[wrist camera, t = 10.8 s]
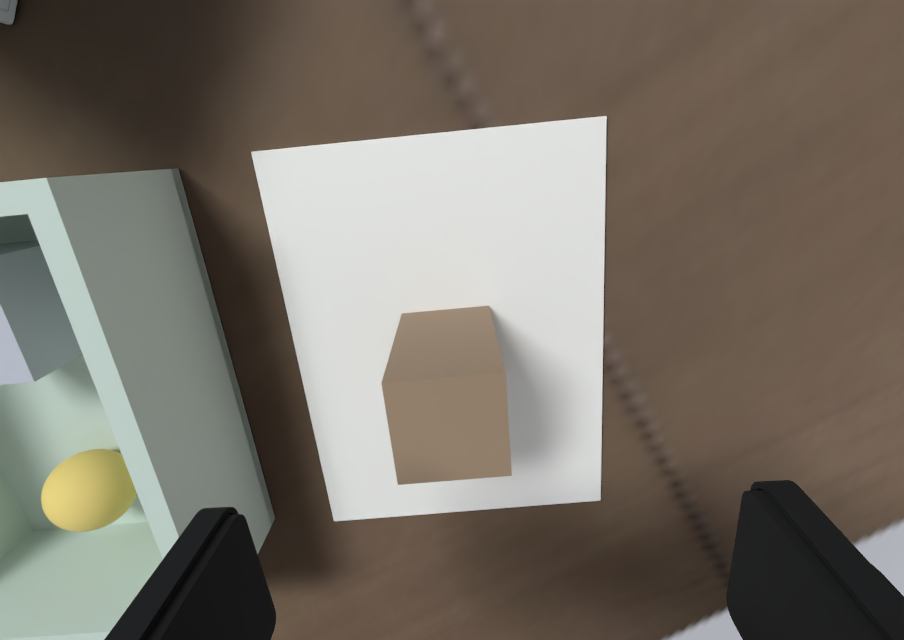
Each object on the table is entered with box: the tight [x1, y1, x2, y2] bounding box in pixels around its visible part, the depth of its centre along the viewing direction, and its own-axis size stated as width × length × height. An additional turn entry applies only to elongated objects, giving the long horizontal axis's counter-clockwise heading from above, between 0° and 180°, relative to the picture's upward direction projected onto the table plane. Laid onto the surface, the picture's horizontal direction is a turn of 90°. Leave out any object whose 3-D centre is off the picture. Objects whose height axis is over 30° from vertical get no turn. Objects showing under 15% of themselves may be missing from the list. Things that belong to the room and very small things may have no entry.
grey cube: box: [0, 240, 83, 385], centre depth 16 cm, size 4×4×4 cm
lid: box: [251, 116, 607, 521], centre depth 17 cm, size 17×13×7 cm
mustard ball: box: [41, 449, 137, 532], centre depth 20 cm, size 3×3×3 cm
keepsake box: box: [0, 168, 275, 640], centre depth 17 cm, size 16×12×6 cm
